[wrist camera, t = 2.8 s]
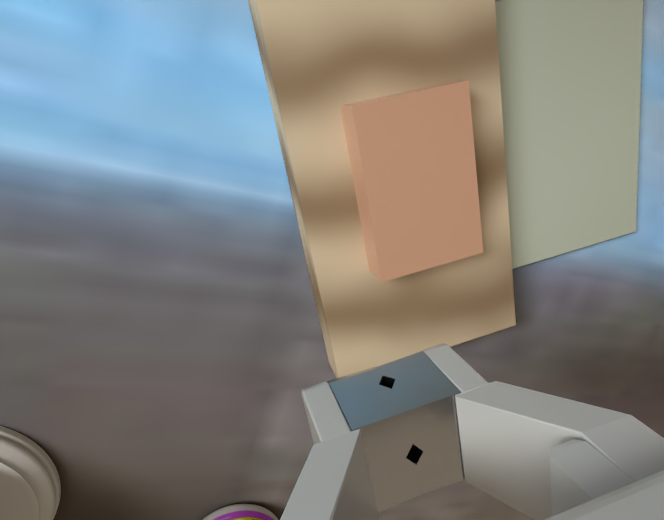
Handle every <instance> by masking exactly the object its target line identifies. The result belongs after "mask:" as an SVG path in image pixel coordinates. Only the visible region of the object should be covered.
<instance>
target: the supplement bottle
mask: <svg viewBox="0 0 664 520" xmlns="http://www.w3.org/2000/svg"><path fill="white" fill-rule="evenodd" d="M203 520H278V518H277V517H276V516H275V515H274V514H273V513H272V512H271V511H269V510H268V509H266V508H264V507H262V506H258V505H253V504H234V505H230V506H226V507H223V508H220V509H218V510H216V511H214V512H212V513H211V514H209V515H208V516H206V517H205V518H204V519H203Z"/></svg>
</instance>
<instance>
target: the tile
mask: <svg viewBox="0 0 664 520" xmlns="http://www.w3.org/2000/svg"><path fill="white" fill-rule="evenodd" d="M340 108H341V114H342V120H343V125H344V131H345V137H346V142H347V148H348V154H349V160H350V165H351V171H352V177H353V182H354V188H355V194H356V199H357V205H358V211H359V216H360V222H361V228H362V233H363V239H364V245H365V250H366V256H367V262H368V267H369V271H370V272H371V273H372V274H373V275H375V276H376V277H377V278H378V279H379V280H380V281H381V282H384V281H388V280H391V279H395V278H398V277H401V276H405V275H408V274H412V273H415V272H418V271H422V270H425V269H429V268H432V267H436V266H439V265H442V264H446V263H449V262H453V261H456V260H459V259H463V258H466V257H470V256H473V255H477V254H480V253H483V242H482V231H481V219H480V207H479V196H478V184H477V172H476V161H475V149H474V137H473V126H472V114H471V102H470V91H469V80H468V81H456V82H447V83H442V84H438V85H433V86H428V87H424V88H419V89H415V90H410V91H405V92H401V93H396V94H391V95H387V96H382V97H378V98H373V99H368V100H364V101H359V102H354V103H350V104H345V105H341V106H340Z"/></svg>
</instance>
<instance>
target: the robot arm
mask: <svg viewBox="0 0 664 520" xmlns="http://www.w3.org/2000/svg"><path fill="white" fill-rule="evenodd" d="M302 397H303V401H304V405H305V409H306V413H307V417H308V421H309V425H310V429H311V433H312V437H313V441H314V445H313V447H312V449H311V451H310V454H309V456H308V458H307V460H306V462H305V465H304V467H303V469H302V471H301V474H300V476H299V478H298V480H297V483H296V485H295V487H294V489H293V492H292V494H291V496H290V498H289V501H288V503H287V505H286V507H285V510H284V512H283V514H282V516H281V519H280V520H378V519H379V512H381V511H383V510H386V509H388V508H390V507H393V506H395V505H398V504H400V503H402V502H405V501H407V500H409V499H412V498H414V497H417V496H419V495H421V494H424V493H427V492H430V491H433V490H436V489H438V488H441V487H444V486H447V485H450V484H453V483H455V482H458V481H461V480H464V479H465V482H467V483H469V484H471V485H473V486H474V487H476V488H478V489H480V490H482V491H483V492H485V493H487V494H489V495H491V496H492V497H494V498H496V499H498V500H500V501H501V502H503V503H505V504H507V505H509V506H511V507H512V508H514V509H516V510H518V511H520V512H521V513H523V514H525V515H527V516H529V517H530V518H532V519H534V520H664V438H663V437H661V436H660V435H659V434H657V433H656V432H654V431H653V430H652V429H650V428H649V427H647V426H646V425H645V424H643V423H642V422H640V421H639V420H637V419H636V418H635V417H633V416H632V415H629V414H625V413H621V412H617V411H613V410H609V409H605V408H601V407H597V406H593V405H589V404H585V403H581V402H577V401H573V400H569V399H565V398H562V397H558V396H554V395H550V394H546V393H542V392H538V391H534V390H530V389H526V388H522V387H518V386H514V385H510V384H506V383H502V382H498V381H495V382H492V383H488V382H487V381H486V380H485V379H484V378H483V377H482V376H481V375H480V374H478V373H477V372H476V371H475V370H474V369H473V368H472V367H471V366H470V365H469V364H468V363H467V362H466V361H464V360H463V359H462V358H461V357H460V356H459V355H458V354H457V353H456V352H455V351H454V350H453V349H451V348H450V347H449V346H448V345H447V344H444V343H441V344H439V345H436V346H433V347H430V348H428V349H425V350H422V351H420V352H418V353H415V354H412V355H409V356H406V357H404V358H401V359H398V360H395V361H392V362H389V363H386V364H383V365H380V366H378V367H372V368H369V369H366V370H362V371H359V372H356V373H353V374H349V375H346V376H343V377H339V378H336V379H333V380H329V381H327V382H323V383H320V384H317V385H314V386H311V387H308V388H305V389H302Z"/></svg>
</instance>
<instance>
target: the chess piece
mask: <svg viewBox="0 0 664 520" xmlns="http://www.w3.org/2000/svg"><path fill="white" fill-rule="evenodd" d="M60 496H61V484H60V478H59V475H58V472H57V469H56V467H55V465H54V463H53V462H52V460H51V458H50V457H49V456H48V454H47V453H46V452H45V451H44V450H43V449H42V448H41V447H40V446H39V445H37V444H36V443H35V442H34V441H32V440H31V439H29V438H28V437H26V436H24V435H22V434H20V433H18V432H16V431H14V430H11V429H9V428H6V427H3V426H0V520H53V519H54V517H55V514H56V512H57V509H58V505H59V502H60Z"/></svg>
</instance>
